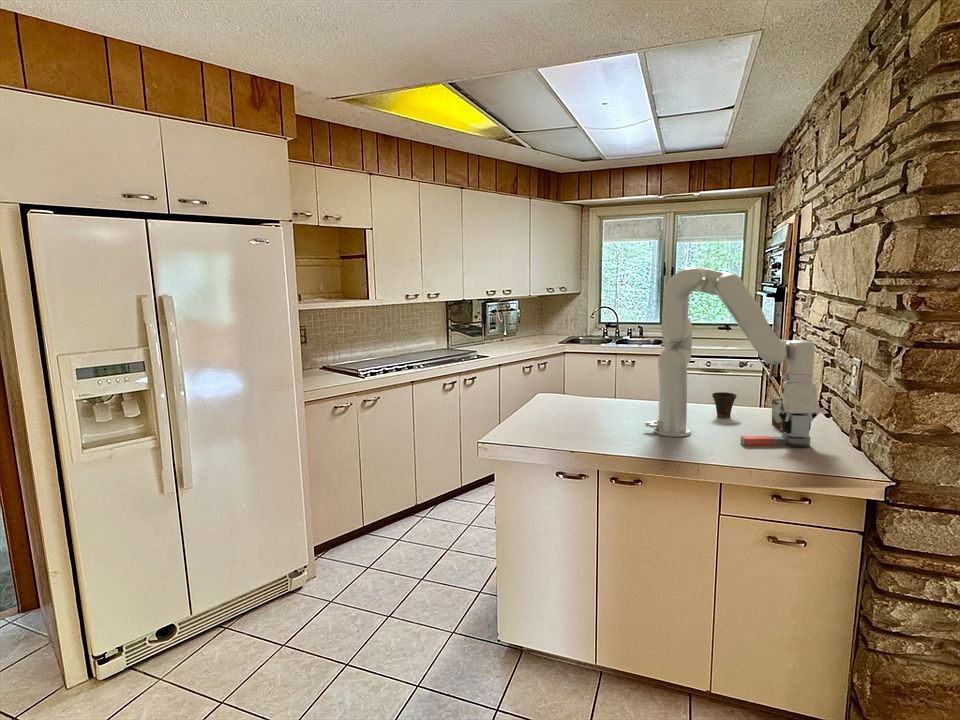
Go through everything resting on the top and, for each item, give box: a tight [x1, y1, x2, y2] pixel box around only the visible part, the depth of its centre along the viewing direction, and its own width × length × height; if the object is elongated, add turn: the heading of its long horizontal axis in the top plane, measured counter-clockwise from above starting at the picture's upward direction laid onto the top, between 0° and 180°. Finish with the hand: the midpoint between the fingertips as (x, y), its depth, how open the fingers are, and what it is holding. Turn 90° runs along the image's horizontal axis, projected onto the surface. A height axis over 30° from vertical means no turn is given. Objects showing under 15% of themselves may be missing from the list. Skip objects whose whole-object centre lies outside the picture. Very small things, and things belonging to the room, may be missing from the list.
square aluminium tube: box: [783, 414, 810, 437], centre depth 176 cm, size 5×5×7 cm
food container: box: [771, 398, 784, 433], centre depth 194 cm, size 12×6×10 cm, turn 168°
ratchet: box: [740, 432, 811, 450], centre depth 177 cm, size 21×8×6 cm, turn 84°
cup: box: [711, 391, 737, 419], centre depth 212 cm, size 9×9×10 cm
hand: (796, 431), depth 176 cm, fingers closed on square aluminium tube, 5 cm apart
